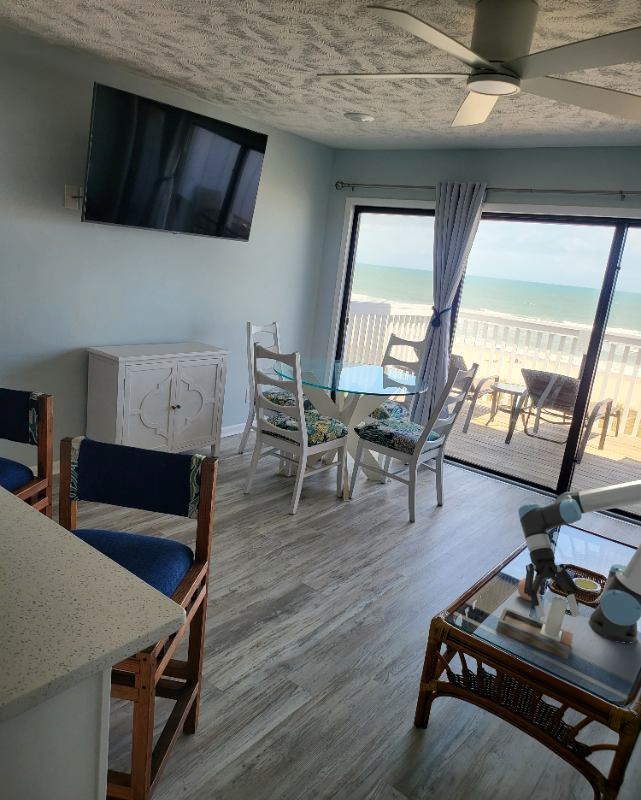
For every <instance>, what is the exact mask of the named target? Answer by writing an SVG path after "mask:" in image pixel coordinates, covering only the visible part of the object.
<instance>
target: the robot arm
mask: <svg viewBox="0 0 641 800" xmlns="http://www.w3.org/2000/svg"><path fill="white" fill-rule="evenodd" d="M640 504H641V479H638V480H633V481H628V482H623V483H618V484H616V483H615V484H613V485H607V486H602V487H596V488H590V489H587V490H586V489H585V490H582V491H577V492H576V491H575V492H572V491H566V492H563V493H561V494H560V495H559V496H558V497H557V498H556V500H555V501H554V503H552V504H548V505H546V506H542V507H541V506H540V504H538V503H535V502H531V503H526V504H523V505H521V506H520V507H519V508H518V511H517V512H518V513H517V514H518V517H519V522H520V525H521V528H522V532H523V535H524V539H525V543H526V547H527V550H528V551H529V557H530V562H531V563H528V564H526V565H525V571H526V573H525V578H526V580H525V587H524V593H525V594H528V596H529V597H530V596H531V599H532V600H531V602H532V605H533V607H534V608H535V611H536V616H537V618H539V619H540V618H543V617H546V613H545V610H544V609H545V608H544V606H543V602H542V597H541V595H540V593H539V594H537V592H538V589H539V587H541V584H542V582H543V580H546V579H547V580H552V581H554V582H555V583H556V584H557V585H558V586H559V587H560V588H561V589H562V590H563V591H564V593H565V594H568V596H567V600H568V603H569V606H570V610H571V613H572V615H571V616H572V618H574V617H578V616H580V615H581V613H580V610H579V604H578V603H579V601H578V602H577V598H578V597H577V594H578V592H580V588H579V586H578V585H577V584H576V582H575V581H574V580H573V578H572V576H570V574H569V572H568V571H567V570H566V567H565V564H564V563H559V564H556V563H555V560H556V558H555V554H554V550H553V548H552V543H551V540H550V538H549V533H548V531H549V530H553V529H554V528H555V529H556V528H558V527H563V526H566V525H569V524H570V525H571V524H573V523H575V522H579V521H581V519H582V514H586V513H587V514H588V513H593V512H599V511H606V510H610V509H617V508H623V507H629V506H634V505H640ZM535 572H536V573H535ZM533 579H535V580H534V582H533ZM536 594H537V595H536ZM577 604H578V606H577ZM640 619H641V543H640V544H639V546H638V547H637V549H636V551H635V552H634V554H633V555H632V557H631V558H630V560H629V562H628V563H627V565H622V564H612V565H611V566H610V570H608V576H607V579H606V583H605V586H604V588H603V592H602V594H601V597H600V602H599V604H598V606H597V607H596V608H595V609H594V610H593V612H592V613H591V615H590V617H589V619H588V623H589V627H591V628H592V630H593V631H595V632H596V633H597V634H598V635H601V636H602V637H604V638H606V639H609V640H611V641H614V642H616V641H618V642H617V643H620V642H625V643H624V644H627V643H629V644H631V643H630V642H634V641H635V640H636V641H637V638H638V632H639V631H638V621H640ZM636 641H635V642H636ZM635 642H634V643H635Z"/></svg>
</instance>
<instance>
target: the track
mask: <svg viewBox="0 0 641 800" xmlns="http://www.w3.org/2000/svg"><path fill="white" fill-rule="evenodd" d="M543 624H545V625H546V622H544V621H542V620H539V619H536V618H534V617H532V616H529V615H526V614H524V613H521V612H518V611H515V610H513V609H511V608H508V607H504V608H503V611H502V612H501V615H500V617H499V620H498V622H497V625H496V631H497V632H499V633H501V634H504V635H506V636H508V637H511V638H514V639H516V640H519V641H521V642H524V643H526V644H529V645H531V646H533V647H535V648H538V649H541V650H543V651H546V652H548V653H551V654H553V655H556V656H557V657H561V658H564V659H566V660H568V659H569V655H570V653H571V648H572V643H573V639H574V638H573V637H574V632H573V633H572V632H570V631H567V630H565V629H562V628H561V629H560V630H561V631H562V635H561V640H560V643H559V642H557V641H554V640H552V639H549V638H547V637H544V636H542V635H540V633H541V629H542V626H543Z"/></svg>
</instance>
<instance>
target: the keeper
mask: <svg viewBox="0 0 641 800" xmlns="http://www.w3.org/2000/svg"><path fill="white" fill-rule="evenodd" d="M567 604H568V603H567V602H566V601H565V600H563V599H561V598H557V597H555V596H554V597H552V602H551V605H550V608H549V612H548V616H547V618H546V622H545V623H546V625H545V624H543V626H542V629H541V633H540V635H542V636H544V637H547V638H549V639H552V640H554V641H557V642H559V643H560V640H561V635H562V631H561V630H560V629H562V628H561V627H562V625H563V622H564V619H565V614H566V613H565V611H566V607H567Z"/></svg>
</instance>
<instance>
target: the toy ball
mask: <svg viewBox="0 0 641 800" xmlns="http://www.w3.org/2000/svg"><path fill="white" fill-rule="evenodd" d="M525 580H526V577H525V578H522V579H521V580H520V581H519V582H518V584H517V591H518V594H519V595H520V597H521V598H522V599H524V600H525V601H532V599H531V596H530V597H529V596H528V594H525V593H524V587H525ZM534 580H535V578H533V582H534ZM541 590H542V589H541V586H540V587H539V589H538V592H537V594H540V591H541ZM537 594H536V595H537Z"/></svg>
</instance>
